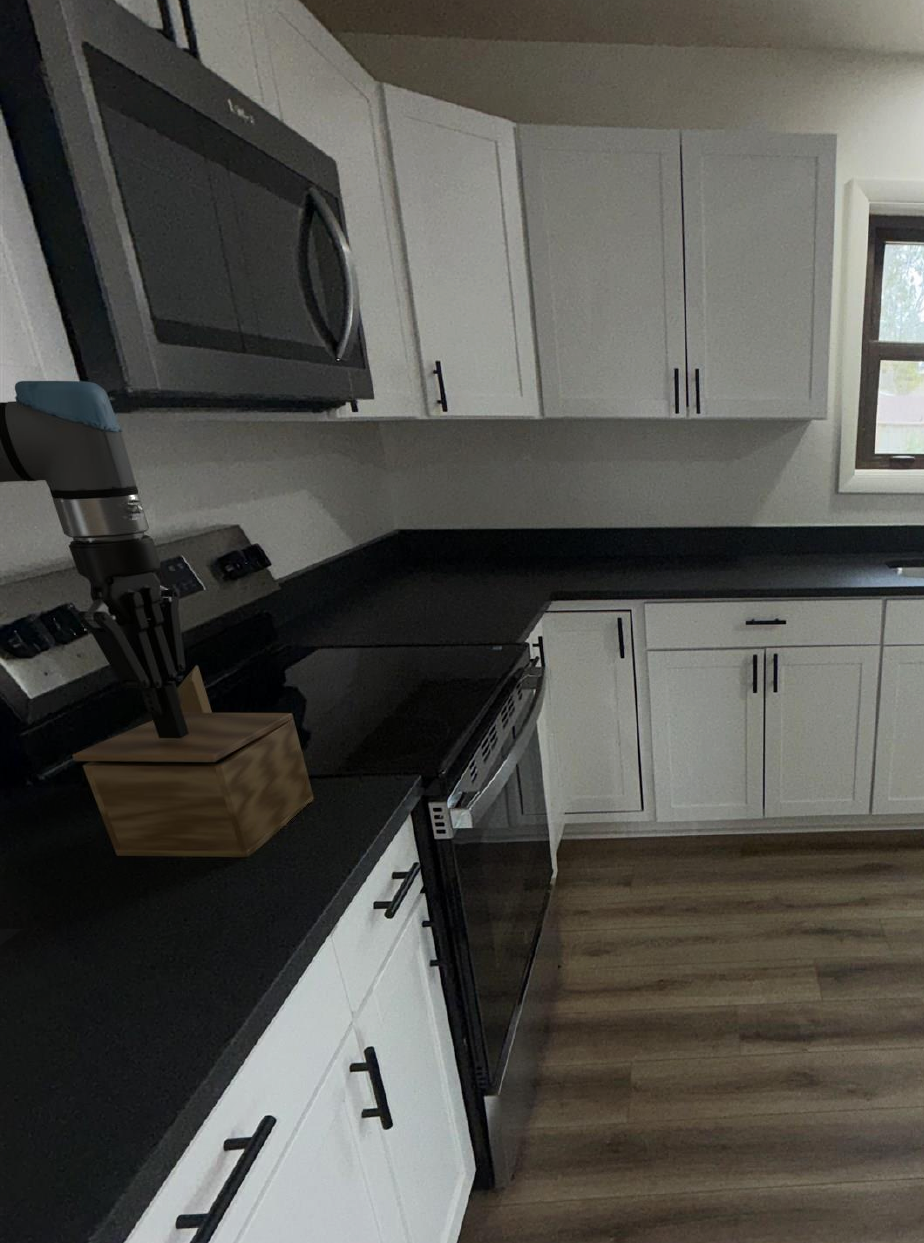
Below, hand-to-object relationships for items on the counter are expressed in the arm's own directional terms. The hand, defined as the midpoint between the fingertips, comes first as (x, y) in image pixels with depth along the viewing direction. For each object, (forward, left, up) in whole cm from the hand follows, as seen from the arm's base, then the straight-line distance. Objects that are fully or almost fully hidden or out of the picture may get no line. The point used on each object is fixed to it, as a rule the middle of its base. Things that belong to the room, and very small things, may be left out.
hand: (174, 735), depth 98 cm
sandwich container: (-19, +19, -14) cm, 31 cm away
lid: (0, +3, -1) cm, 3 cm away
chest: (0, +3, -14) cm, 15 cm away
